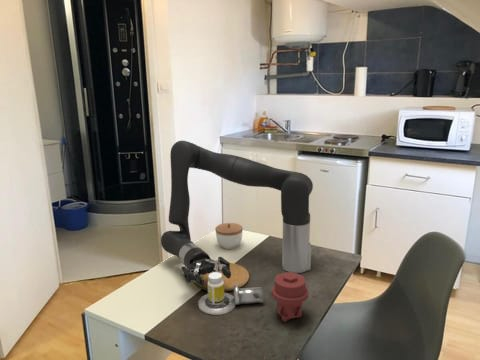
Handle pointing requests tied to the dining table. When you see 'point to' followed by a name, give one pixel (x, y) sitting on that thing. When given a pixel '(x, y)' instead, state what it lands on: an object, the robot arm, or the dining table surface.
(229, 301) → the flange fitting
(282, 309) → the mechanical component
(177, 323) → the dining table surface
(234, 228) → the lidded jar
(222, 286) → the supplement bottle
